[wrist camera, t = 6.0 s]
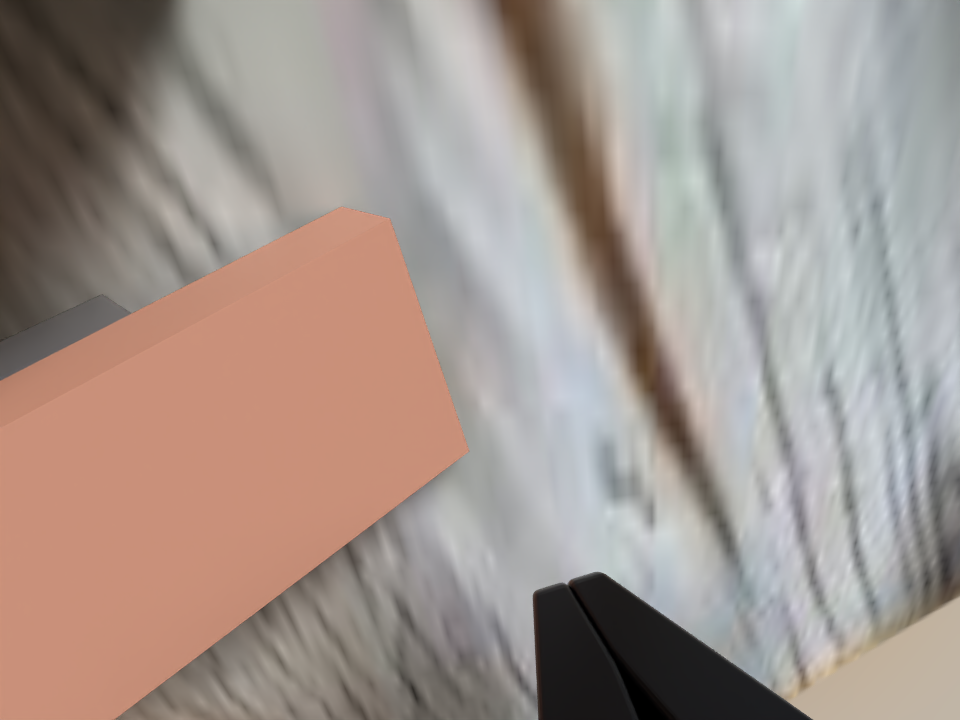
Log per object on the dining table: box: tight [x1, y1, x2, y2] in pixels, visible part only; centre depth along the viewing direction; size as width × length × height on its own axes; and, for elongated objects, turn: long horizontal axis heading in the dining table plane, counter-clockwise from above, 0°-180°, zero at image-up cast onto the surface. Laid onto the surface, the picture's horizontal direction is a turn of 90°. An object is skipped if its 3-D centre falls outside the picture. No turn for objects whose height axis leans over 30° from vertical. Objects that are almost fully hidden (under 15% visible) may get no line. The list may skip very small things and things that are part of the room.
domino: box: [0, 207, 469, 720], centre depth 12 cm, size 2×5×10 cm
